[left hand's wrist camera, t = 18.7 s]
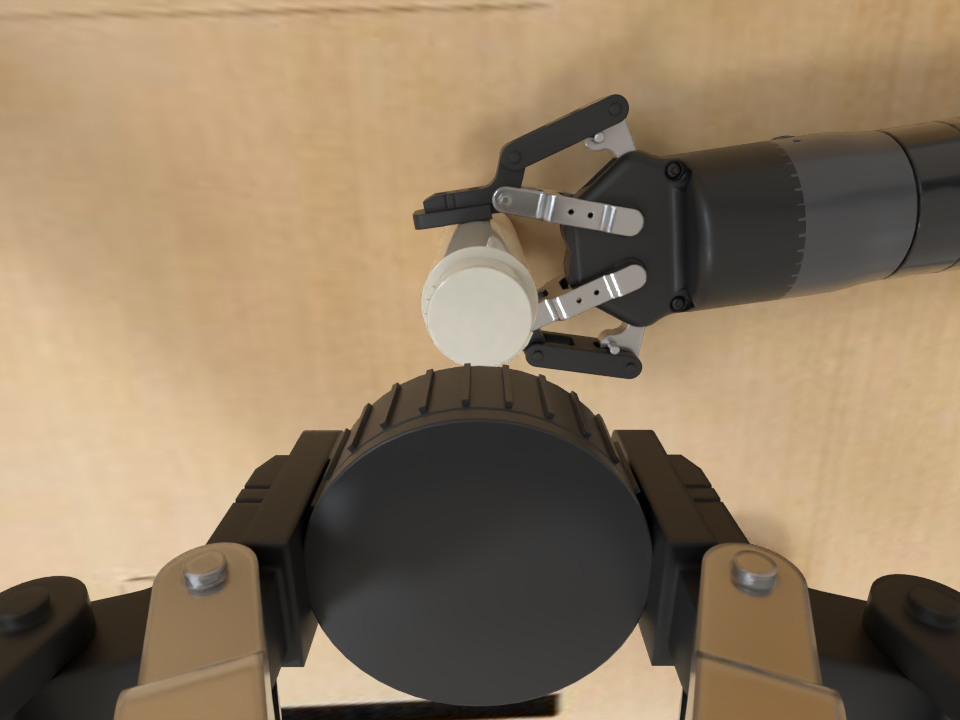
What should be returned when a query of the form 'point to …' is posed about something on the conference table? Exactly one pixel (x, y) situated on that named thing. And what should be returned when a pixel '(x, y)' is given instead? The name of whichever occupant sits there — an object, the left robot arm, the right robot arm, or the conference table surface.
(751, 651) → the left robot arm
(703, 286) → the right robot arm
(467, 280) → the jar
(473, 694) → the lid
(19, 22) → the conference table surface
